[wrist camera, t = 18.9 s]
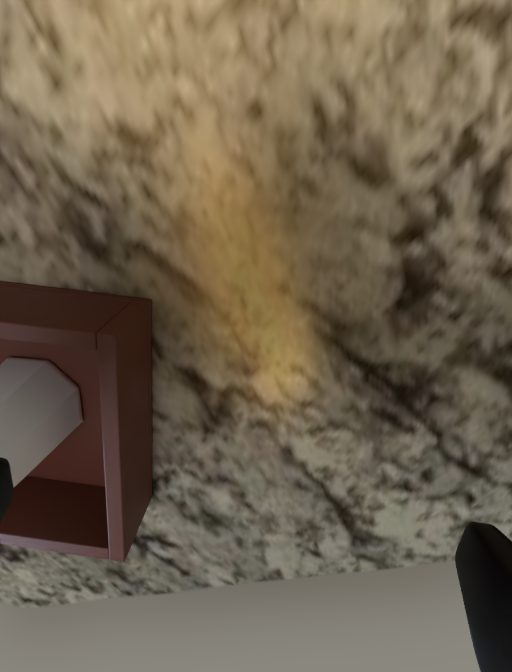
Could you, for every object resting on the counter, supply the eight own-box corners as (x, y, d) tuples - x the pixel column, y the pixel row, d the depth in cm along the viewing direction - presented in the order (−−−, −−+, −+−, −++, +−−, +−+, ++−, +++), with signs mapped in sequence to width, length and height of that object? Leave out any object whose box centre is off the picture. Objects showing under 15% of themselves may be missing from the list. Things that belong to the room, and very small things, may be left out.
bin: (152, 299, 21) (115, 335, 16) (152, 495, 26) (124, 562, 21) (-95, 269, 21) (-192, 297, 17) (-48, 467, 26) (-114, 527, 22)
